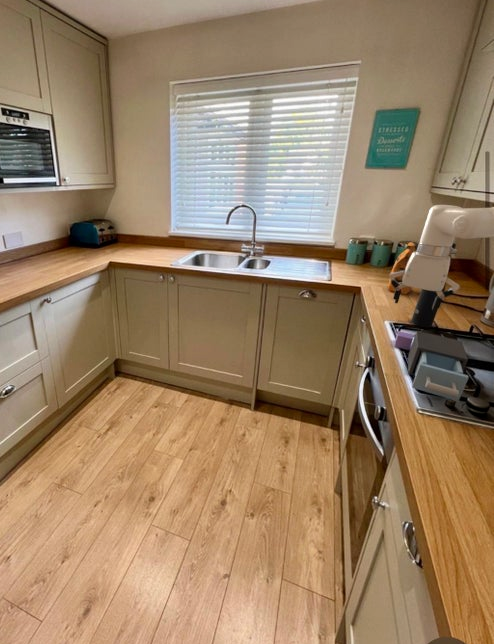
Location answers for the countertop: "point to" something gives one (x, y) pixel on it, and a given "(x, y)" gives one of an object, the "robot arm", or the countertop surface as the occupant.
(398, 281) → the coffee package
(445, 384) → the drawer
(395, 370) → the countertop surface
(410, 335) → the lavender cube
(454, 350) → the compartment
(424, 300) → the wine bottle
